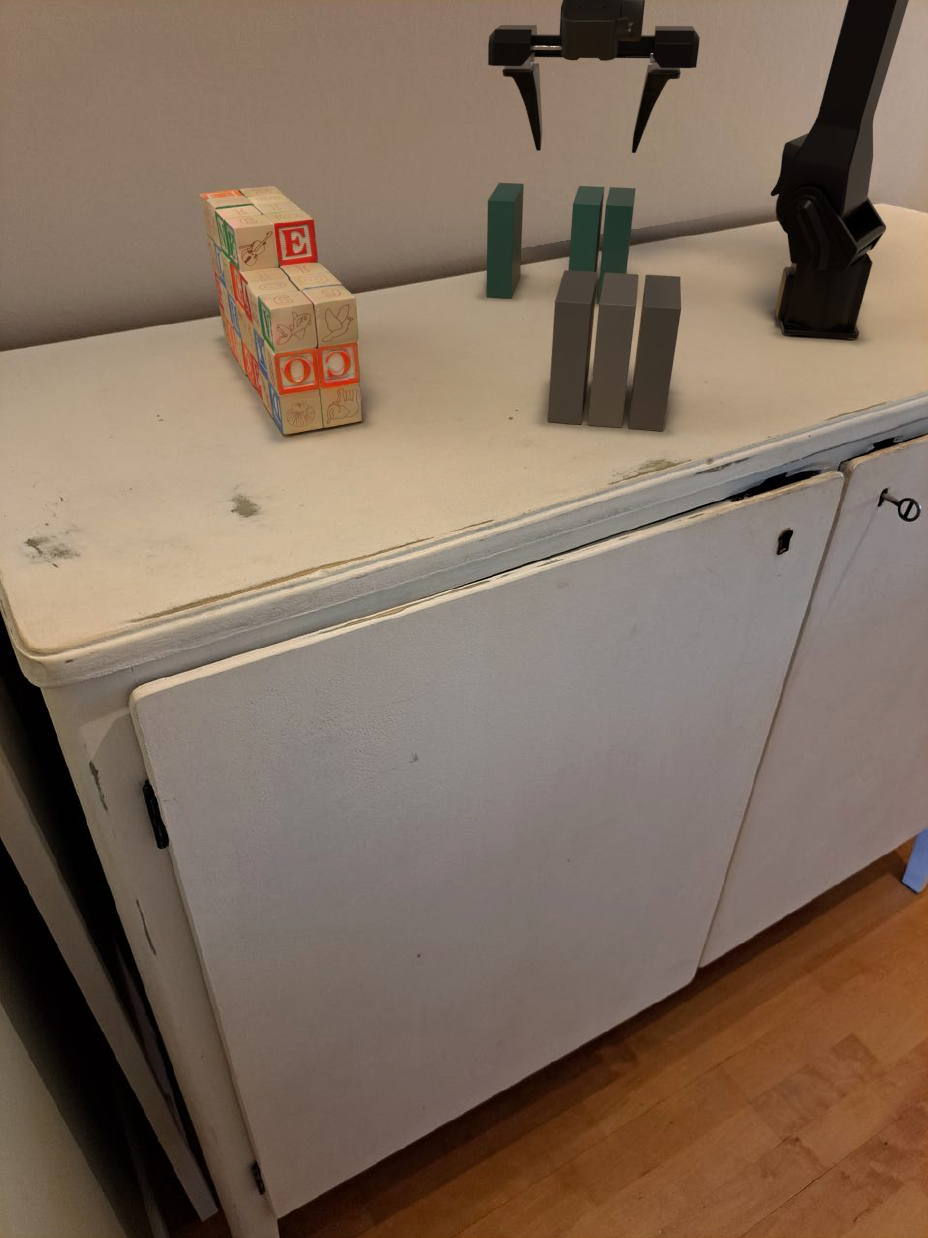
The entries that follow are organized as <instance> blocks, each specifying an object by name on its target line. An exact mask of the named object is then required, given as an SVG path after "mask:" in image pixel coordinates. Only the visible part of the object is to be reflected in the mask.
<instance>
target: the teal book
mask: <svg viewBox="0 0 928 1238" xmlns="http://www.w3.org/2000/svg"><path fill="white" fill-rule="evenodd" d="M524 187H525V185H524V183H516V182H498V184H497V185H496V187H495V188H494V190H493V192H492V193H491V194H490V196H489V198H488V199H487V225H486V226H487V227H486V231H487V233H486V292H485V293H486V295H485V296H486V298H497V299H512V297H513V295H514V292H515V290H516V287H517V285H518V283H519V280H520V278H521V270H522V269H521V268H522V267H521V266H522V241H523V217H524V216H523V215H524V214H523V213H524V212H523V211H524Z"/></svg>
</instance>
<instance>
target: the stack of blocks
mask: <svg viewBox="0 0 928 1238" xmlns="http://www.w3.org/2000/svg"><path fill="white" fill-rule="evenodd" d="M199 199H200V203H201V204H200V205H201V209H202V215H203V219H204V225H205V230H206V237H207V243H208V248H209V250H208V251H209V254H210V255H209V256H210V262H211V267H212V269H213V272H214V278H215V284H216V289H217V295H218V301H219V312H220V317H221V323H222V328H223V332H224V338H225V340H226V342H227V344H228V346H229V347H230V350H231V353H232V354H233V356H234V357H235V360H236V362H238V364H239V366H240V368H241V369H242V371H243V373H244V374H245V375H247V376H248V379H249V380H250V382H251V383H252V385H253V387H254V388H256V390H257V392H258V394H259V395H260V397H261V399H262V402H263V404H264V407H265V408H266V409H267V412H268V413H269V415H270V417H272V419H273V420H274V422H275V424H276V426H277V427H278V429H279V430H280V433H281V434H282V435H283V436H285V435H291V434H296V433H302V432H307V431H315V430H319V429H323V428H324V429H325V428H331V427H336V426H342V425H347V424H353V423H358V422H362V421H363V411H362V409H363V408H362V397H361V386H360V383H361V374H360V373H361V372H360V360H359V347H358V341H359V324H358V323H359V322H358V310H357V298H356V296H355V295H354V294H353V293H352V292H350V291H349V290H348V289H347V288H346V287H345V286H344V285H343V283H342V282H341V281H340V280H339V279H338V278H337V277H335V276H334V275H333V274H332V273H331V272H330V271H329V270H328V269H327V268H326V267H325V266H324V265H323V264H321V263H319V255H318V247H317V236H316V226H315V219H314V218H313V217H312V216H311V215H309V214H308V213H307V212H306V211H304V210H303V209H301V208H300V207H299V206H298V205H296V204H295V203H294V202H293V201H292V200H291V199H289V198H288V197H287V196H286V195H284V193H283V192H282V191H281V190H280V189H279V188H277V187H276V186H275V185H268V186H258V187H246V188H239V189H229V190H228V189H227V190H219V191H212V192H211V191H209V192H202V193H199Z"/></svg>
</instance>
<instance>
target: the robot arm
mask: <svg viewBox="0 0 928 1238" xmlns="http://www.w3.org/2000/svg"><path fill="white" fill-rule="evenodd" d="M909 1H910V0H848V1H847V3H846V7H845V11H844V15H843V19H842V23H841V25H840V26H841V27H840V30H839V34H838V38H837V42H836V46H835V49H834V53H833V57H832V60H831V65H830V68H829V72H828V75H827V79H826V83H825V87H824V90H823V94H822V97H821V102H820V106H819V108H818V113H817V116H816V118H815V121H814V122H813V125H812V126H811V128H810V130H809V132H807V133H805V134H803V135H800V136H798V137H796V138H794V139H791V140H789V141H786V142H785V143H784V146H783V149H782V154H781V164H780V172H779V176H778V179H777V181H776V183H775V186H774V187H773V189H772V190H771V192H770V196H771V197H775V196H777V199H776V202H775V217H776V221H777V222H778V223H779V224H780V227H781V228H782V230H783V232H784V233H786V235H787V236H786V237H787V243H788V251H789V259H790V262H791V263H790V266H784V268H783V269H782V275H781V279H780V284H779V289H778V293H777V299H776V303H775V306H774V307H775V308H774V312H775V316H776V317H775V318H776V319H777V321H778V322H779V325H780V327H781V331H782V333H783V334H784V335H790V336H807V337H822V338H836V339H837V338H840V339H858V338H859V335H860V330H859V329H858V327H857V323H858V319H859V315H860V312H861V308H862V304H863V300H864V296H865V293H866V290H867V286H868V281H869V278H870V275H871V272H872V271H871V270H872V267H873V263H874V262H873V261H872V259H871V257H870V256H869V254H868V252H869V251H872V250H874V249H875V247H876V246H877V245H878V243H879V241H880V240H881V238H882V237H883V235H884V234H885V232H886V230H887V225H886V223H885V222H884V221H883V218H882V217H881V216H880V214H879V212H878V210H877V209H876V207H875V206H874V205H873V202H872V201H871V199H870V198H869V197H868V195H869V191H870V190H869V189H870V182H871V175H872V168H873V162H874V118H875V114H876V111H877V107H878V104H879V101H880V98H881V94H882V90H883V88H884V84H885V81H886V77H887V74H888V71H889V68H890V64H891V61H892V58H893V54H894V51H895V47H896V44H897V41H898V37H899V34H900V31H901V27H902V24H903V21H904V18H905V14H906V11H907V7H908V4H909ZM645 3H646V0H562V2H561V5H560V15H559V17H560V18H559V33H558V34H554V33H553V34H551V33H550V34H549V33H548V34H547V33H542V34H541V33H540V34H539V33H538V27H537V26H538V25H537V24H500V25H499V26H498V27H496V28H495V29H494V30H493V31H492V32H491V34H490V35H489V36H488V43H487V44H488V45H487V65H488V66H493V67H504V68H503V69H502V76H503V77H505V78H512V79H513V81H514V83H515V85H516V87H517V89H518V91H519V93H520V96H521V99H522V102H523V104H524V107H525V111H526V115H527V119H528V123H529V126H530V131H531V134H532V138H533V143H534V146H535V150H536V151H537V152H539V151H542V146H543V145H542V143H543V113H542V93H541V91H542V90H541V73H540V71H541V70H540V63H539V62H538V63H535V62H536V60H537V58H563V59H564V60H567V61H578V60H579V59H597V60H599V61H602V62H604V61H605V62H609V61H612V60H614V59H649V63H650V64H647V67H646V72H645V76H644V81H643V86H642V91H641V95H640V100H639V105H638V110H637V114H636V120H635V124H634V129H633V135H632V146H631V154H636V153H637V151H638V148H639V145H640V143H641V140H642V138H643V135H644V133H645V130H646V127H647V125H648V122H649V120H650V118H651V117H650V116H651V114H652V112H653V109H654V108H655V105H656V104H657V101H658V99H659V98H660V96H661V93H662V92H663V90H664V88H665V87H666V85H667V83H668V82H669V80H679V79H680V78H681V73H682V72H681V69H696V68H697V65H698V56H699V49H700V41H701V40H700V39H701V38H700V36H699V33H698V32H697V30H696V29H695V28H694V26H693V25H655V26H654V34H643V26H644V25H643V24H644V14H645Z"/></svg>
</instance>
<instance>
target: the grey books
mask: <svg viewBox="0 0 928 1238" xmlns="http://www.w3.org/2000/svg"><path fill="white" fill-rule="evenodd" d="M598 274H599V273H598V271H597V272H587V271H569V270H568V269H565V270H564V271H563V273H562V277H561V280H560V284H559V287H558V289H557V290H558V291H557V294H556V297H555V300H554V311H553V312H554V313H553V326H552V327H553V329H552V344H551V359H550V360H551V361H550V374H549V375H550V376H549V391H548V405H547V422H548V423H557V424H559V423H560V424H568V425H569V424H571V425H582V421H583V416H584V411H585V410H584V409H585V403H586V398H587V392H588V386H589V377H590V376H589V375H590V365H591V353H592V343H593V341H592V340H593V331H594V319H595V310H596V309H595V307H596V299H597V298H596V297H597V288H598V286H597V285H598V277H599V275H598ZM639 276H640V275H639V274H638V273H626V274H624V273H605V274H604V279H603V285H602V290H601V296H600V301H599V304H598V309H597V320H596V333H595V343H594V354H593V365H592V374H591V375H592V376H591V387H590V396H589V398H590V399H589V407H588V408H589V409H588V418H587V425H588V426H594V427H595V426H596V427H597V426H598V427H609V428H622V427H623V421H624V411H625V403H626V395H627V386H628V377H629V371H630V361H631V353H632V343H633V337H634V336H633V335H634V328H635V320H636V319H635V318H636V311H637V301H638V291H639V289H638V288H639ZM643 285H644V286H643V293H642V294H643V295H642V301H641V310H640V319H639V328H638V336H637V341H636V342H637V344H636V352H635V360H634V367H633V376H632V385H631V394H630V395H631V396H630V408H629V419H628V429H631V430H643V431H657V432H663V431H664V429H665V428H664V427H665V421H666V413H667V407H668V401H669V394H670V389H671V387H670V386H671V381H672V373H673V367H674V360H675V354H676V347H677V340H678V333H679V328H680V327H679V326H680V321H681V320H680V319H681V313H682V293H681V292H682V290H681V289H682V288H681V276H679V275H678V276H677V275H676V276H675V275H661V274H645V277H644V284H643Z"/></svg>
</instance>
